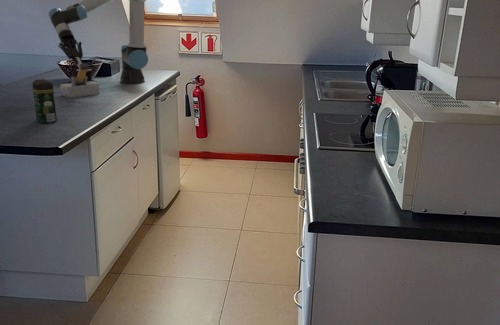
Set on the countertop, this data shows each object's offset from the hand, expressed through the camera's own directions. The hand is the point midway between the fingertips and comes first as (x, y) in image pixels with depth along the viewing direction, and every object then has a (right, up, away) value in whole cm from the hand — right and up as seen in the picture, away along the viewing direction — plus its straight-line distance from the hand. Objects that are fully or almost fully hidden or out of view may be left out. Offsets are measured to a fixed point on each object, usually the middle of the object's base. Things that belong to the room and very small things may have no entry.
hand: (81, 68), depth 266 cm
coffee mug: (-10, -5, +30) cm, 32 cm away
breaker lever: (-4, -7, +6) cm, 10 cm away
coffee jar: (0, -33, -46) cm, 56 cm away
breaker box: (-3, -13, +8) cm, 16 cm away
